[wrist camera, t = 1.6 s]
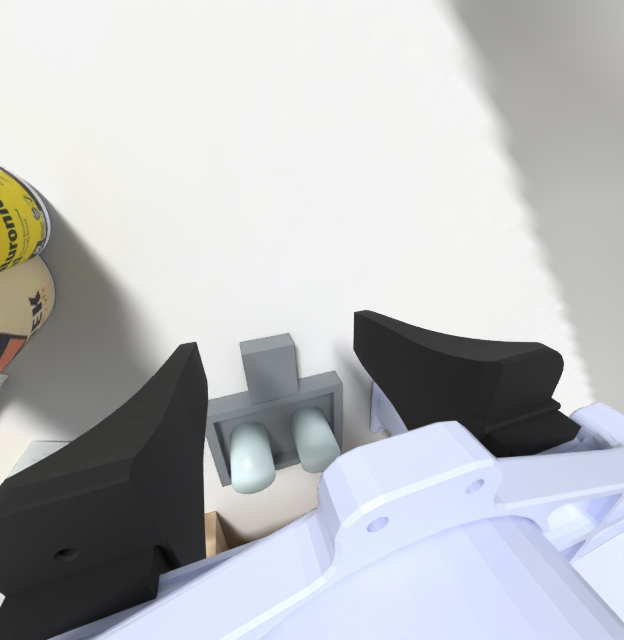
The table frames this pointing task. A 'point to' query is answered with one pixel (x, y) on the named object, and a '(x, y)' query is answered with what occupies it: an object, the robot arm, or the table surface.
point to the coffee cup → (23, 305)
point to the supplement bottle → (20, 221)
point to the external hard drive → (3, 379)
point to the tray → (274, 418)
